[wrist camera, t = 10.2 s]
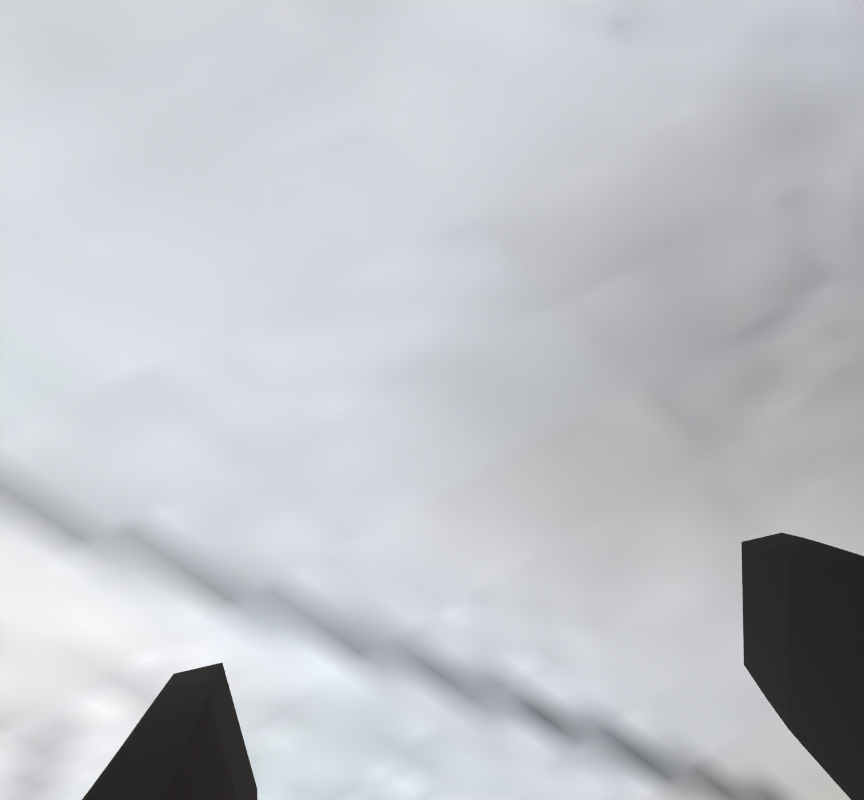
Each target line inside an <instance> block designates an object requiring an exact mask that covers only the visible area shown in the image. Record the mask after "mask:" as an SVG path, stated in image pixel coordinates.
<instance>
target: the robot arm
mask: <svg viewBox="0 0 864 800" xmlns="http://www.w3.org/2000/svg"><path fill="white" fill-rule="evenodd" d="M742 585H743V636H744V665H745V667H746V668H747V670H748V671H749V673H750V674H751V676H752V677H753V679H754V680H755V682H756V683H757V685H758V686H759V688H760V689H761V691H762V692H763V694H764V695H765V697H766V698H767V700H768V701H769V702H770V704H771V705H772V707H773V708H774V709H775V711H776V712H777V714H778V715H779V716H780V718H781V719H782V721H783V722H784V723H785V725H786V726H787V727H788V729H789V730H790V731H791V732H792V733H793V735H794V736H795V737H796V738H797V739H798V740H799V742H800V743H801V744H802V745H803V746H804V747H805V748H806V750H807V751H808V752H809V753H810V754H811V755H812V756H813V757H814V759H815V760H816V761H817V762H818V763H819V764H820V765H821V766H822V768H823V769H824V770H825V771H826V772H827V773H828V774H829V775H830V777H831V778H832V779H833V780H834V781H835V782H836V783H837V784H838V785H839V787H840V788H841V789H842V790H843V791H844V792H845V793H846V794H847V795H848V797H849V798H850V799H851V800H864V556H861V555H858V554H855V553H852V552H848V551H845V550H842V549H839V548H836V547H832V546H829V545H826V544H823V543H819V542H816V541H812V540H809V539H805V538H801V537H798V536H793V535H789V534H785V533H779V534H774V535H770V536H766V537H762V538H757V539H753V540H749V541H744V542H742ZM82 800H257V787H256V783H255V780H254V776H253V772H252V769H251V765H250V761H249V758H248V754H247V751H246V747H245V743H244V740H243V736H242V732H241V729H240V725H239V722H238V718H237V714H236V711H235V707H234V704H233V700H232V696H231V693H230V689H229V685H228V682H227V678H226V675H225V671H224V667H223V664H222V663H219V664H214V665H210V666H206V667H202V668H197V669H193V670H189V671H184V672H180V673H176V674H173V676H172V677H171V678H170V680H169V681H168V683H167V684H166V685H165V687H164V688H163V689H162V691H161V692H160V693H159V695H158V696H157V698H156V699H155V700H154V702H153V703H152V704H151V706H150V707H149V709H148V710H147V711H146V713H145V714H144V716H143V717H142V718H141V720H140V721H139V723H138V724H137V725H136V727H135V728H134V730H133V731H132V732H131V734H130V735H129V737H128V738H127V739H126V741H125V742H124V744H123V745H122V746H121V748H120V749H119V751H118V752H117V753H116V755H115V756H114V758H113V759H112V760H111V762H110V763H109V764H108V766H107V767H106V768H105V770H104V771H103V772H102V774H101V775H100V776H99V778H98V779H97V780H96V782H95V783H94V784H93V786H92V787H91V789H90V790H89V791H88V793H87V794H86V795H85V797H84V798H83V799H82Z"/></svg>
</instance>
